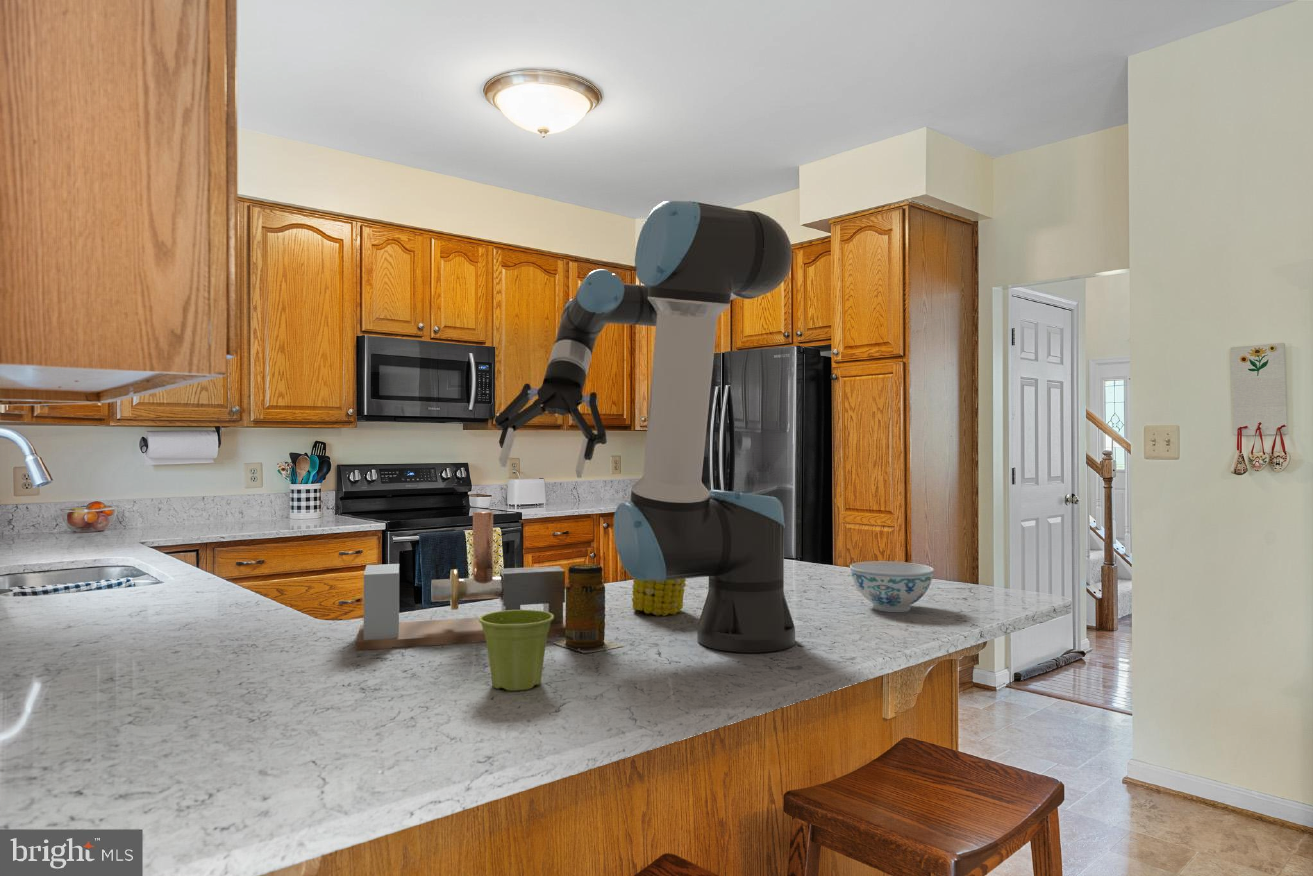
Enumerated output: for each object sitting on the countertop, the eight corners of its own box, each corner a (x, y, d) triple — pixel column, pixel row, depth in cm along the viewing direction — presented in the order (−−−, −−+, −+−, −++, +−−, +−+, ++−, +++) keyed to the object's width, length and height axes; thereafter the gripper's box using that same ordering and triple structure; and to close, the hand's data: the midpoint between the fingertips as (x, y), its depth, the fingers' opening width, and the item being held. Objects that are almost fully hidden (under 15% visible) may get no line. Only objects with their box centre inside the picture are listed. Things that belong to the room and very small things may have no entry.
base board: (558, 619, 141) (558, 612, 141) (572, 635, 129) (572, 627, 129) (360, 632, 131) (360, 624, 131) (355, 650, 120) (356, 642, 120)
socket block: (399, 623, 132) (399, 563, 132) (398, 637, 122) (398, 573, 122) (366, 625, 130) (366, 565, 130) (363, 640, 121) (363, 574, 121)
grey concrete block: (559, 616, 137) (559, 566, 137) (564, 623, 132) (565, 570, 132) (499, 620, 134) (499, 568, 134) (503, 627, 129) (503, 573, 129)
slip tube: (555, 599, 138) (555, 509, 138) (562, 606, 132) (562, 511, 132) (431, 606, 132) (431, 511, 132) (432, 614, 125) (432, 515, 126)
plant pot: (473, 678, 105) (473, 611, 106) (544, 671, 109) (544, 606, 109) (484, 699, 97) (484, 627, 97) (561, 691, 100) (561, 621, 100)
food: (631, 615, 151) (684, 618, 151) (630, 614, 140) (688, 617, 140) (635, 534, 155) (687, 537, 155) (634, 526, 143) (691, 529, 143)
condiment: (591, 636, 128) (591, 561, 128) (623, 647, 122) (623, 567, 122) (552, 643, 124) (552, 565, 124) (583, 655, 117) (583, 572, 117)
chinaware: (880, 597, 161) (880, 559, 161) (949, 609, 149) (949, 567, 149) (833, 607, 151) (833, 566, 151) (904, 621, 140) (904, 576, 140)
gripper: (633, 390, 153) (612, 488, 142) (506, 374, 155) (475, 469, 144) (631, 366, 146) (609, 467, 135) (499, 350, 149) (466, 448, 138)
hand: (540, 468), depth 140 cm, fingers open, 13 cm apart
